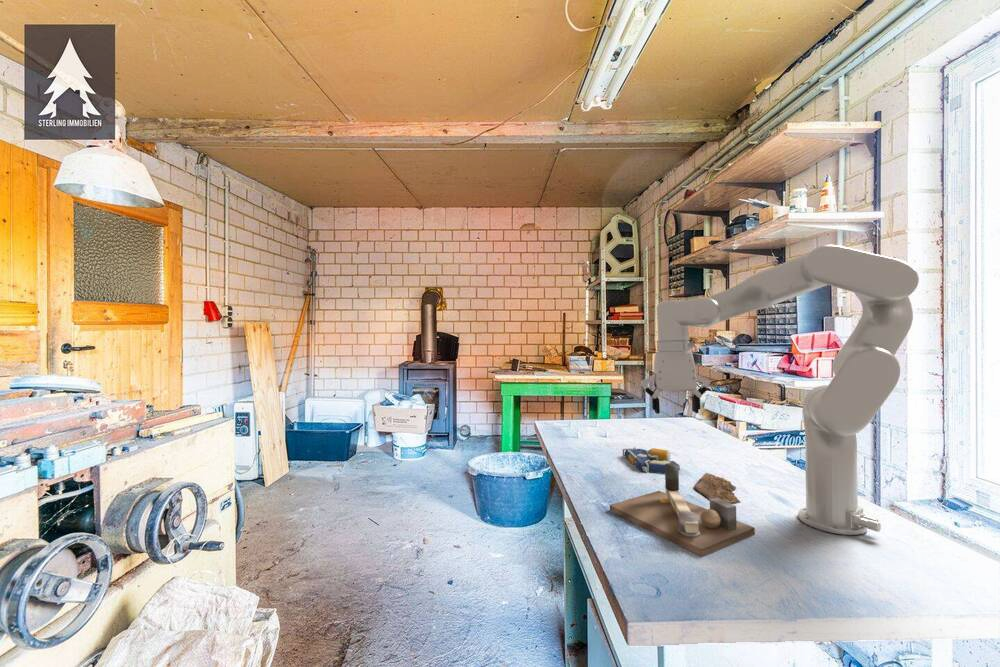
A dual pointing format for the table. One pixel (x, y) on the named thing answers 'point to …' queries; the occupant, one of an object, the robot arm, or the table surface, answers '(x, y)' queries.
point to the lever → (679, 500)
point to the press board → (662, 520)
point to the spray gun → (649, 459)
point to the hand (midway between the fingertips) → (676, 412)
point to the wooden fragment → (716, 488)
